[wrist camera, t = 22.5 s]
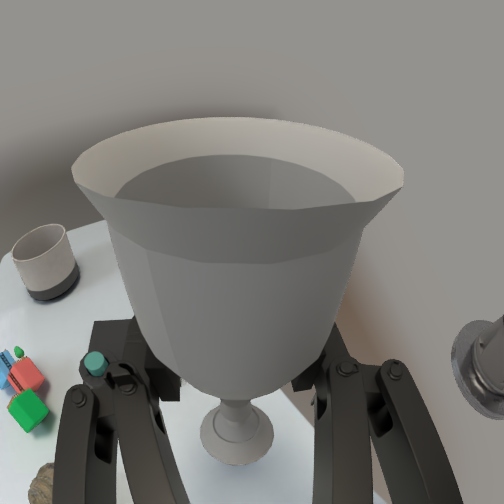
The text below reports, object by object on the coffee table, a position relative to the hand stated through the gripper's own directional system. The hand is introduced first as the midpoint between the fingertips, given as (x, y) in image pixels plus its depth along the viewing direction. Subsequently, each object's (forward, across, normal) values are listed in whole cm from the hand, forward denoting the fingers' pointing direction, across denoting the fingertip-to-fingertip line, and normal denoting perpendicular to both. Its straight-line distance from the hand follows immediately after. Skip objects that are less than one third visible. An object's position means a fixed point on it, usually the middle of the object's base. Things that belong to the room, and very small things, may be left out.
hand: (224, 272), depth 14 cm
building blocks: (+1, -31, -24) cm, 39 cm away
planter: (+28, -35, -24) cm, 51 cm away
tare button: (+7, -17, -21) cm, 28 cm away
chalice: (-5, 0, -10) cm, 11 cm away
